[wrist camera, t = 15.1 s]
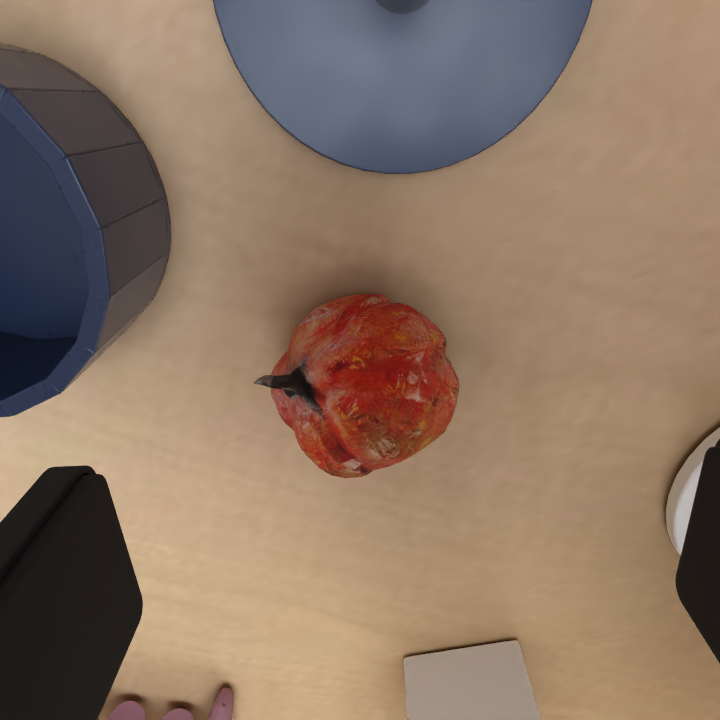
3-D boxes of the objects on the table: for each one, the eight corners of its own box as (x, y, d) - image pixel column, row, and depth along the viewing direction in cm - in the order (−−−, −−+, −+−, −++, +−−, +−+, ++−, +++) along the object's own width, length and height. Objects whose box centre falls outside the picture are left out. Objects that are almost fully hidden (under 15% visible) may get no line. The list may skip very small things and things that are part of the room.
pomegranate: (452, 290, 27) (300, 219, 20) (541, 410, 23) (392, 379, 16) (356, 386, 30) (194, 357, 23) (419, 506, 26) (248, 517, 19)
